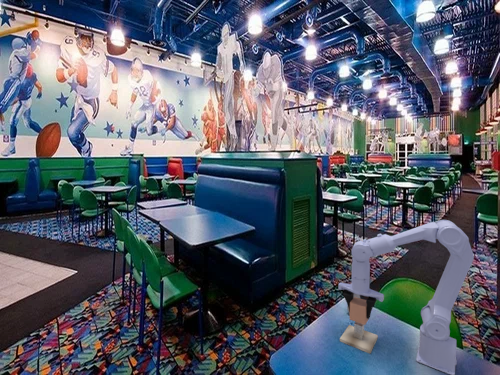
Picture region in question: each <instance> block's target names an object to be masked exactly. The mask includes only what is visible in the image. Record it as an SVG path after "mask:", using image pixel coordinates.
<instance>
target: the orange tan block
mask: <svg viewBox="0 0 500 375" xmlns="http://www.w3.org/2000/svg"><path fill="white" fill-rule="evenodd" d="M366 300H367V299H363V298H361V297H360V298H357V297H354V298H353V299H352V301H351V302H350V314H349V320H350V321H353V322H354V323H355V322H358V323H361V324H364V326H366V325H367V322H368V321H369V319H370V318H369V319H367V316H366V315H367V303H366Z"/></svg>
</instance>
